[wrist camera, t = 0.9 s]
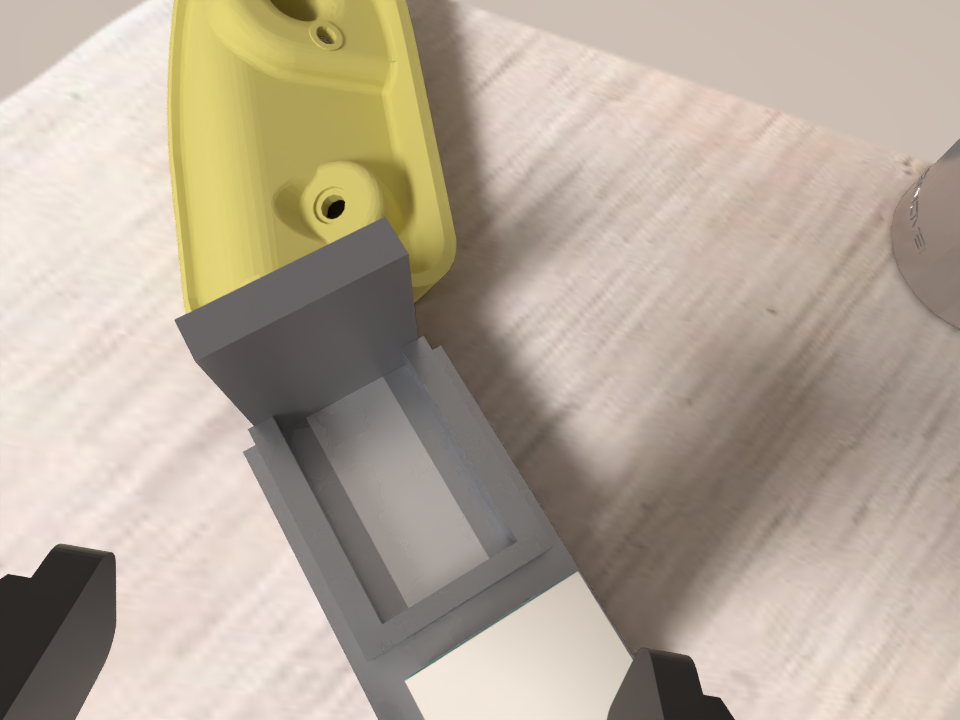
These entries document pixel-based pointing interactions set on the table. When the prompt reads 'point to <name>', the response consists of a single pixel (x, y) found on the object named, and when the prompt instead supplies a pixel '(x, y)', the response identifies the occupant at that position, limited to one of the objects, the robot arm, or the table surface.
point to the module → (530, 664)
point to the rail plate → (407, 521)
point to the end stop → (309, 328)
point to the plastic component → (298, 138)
